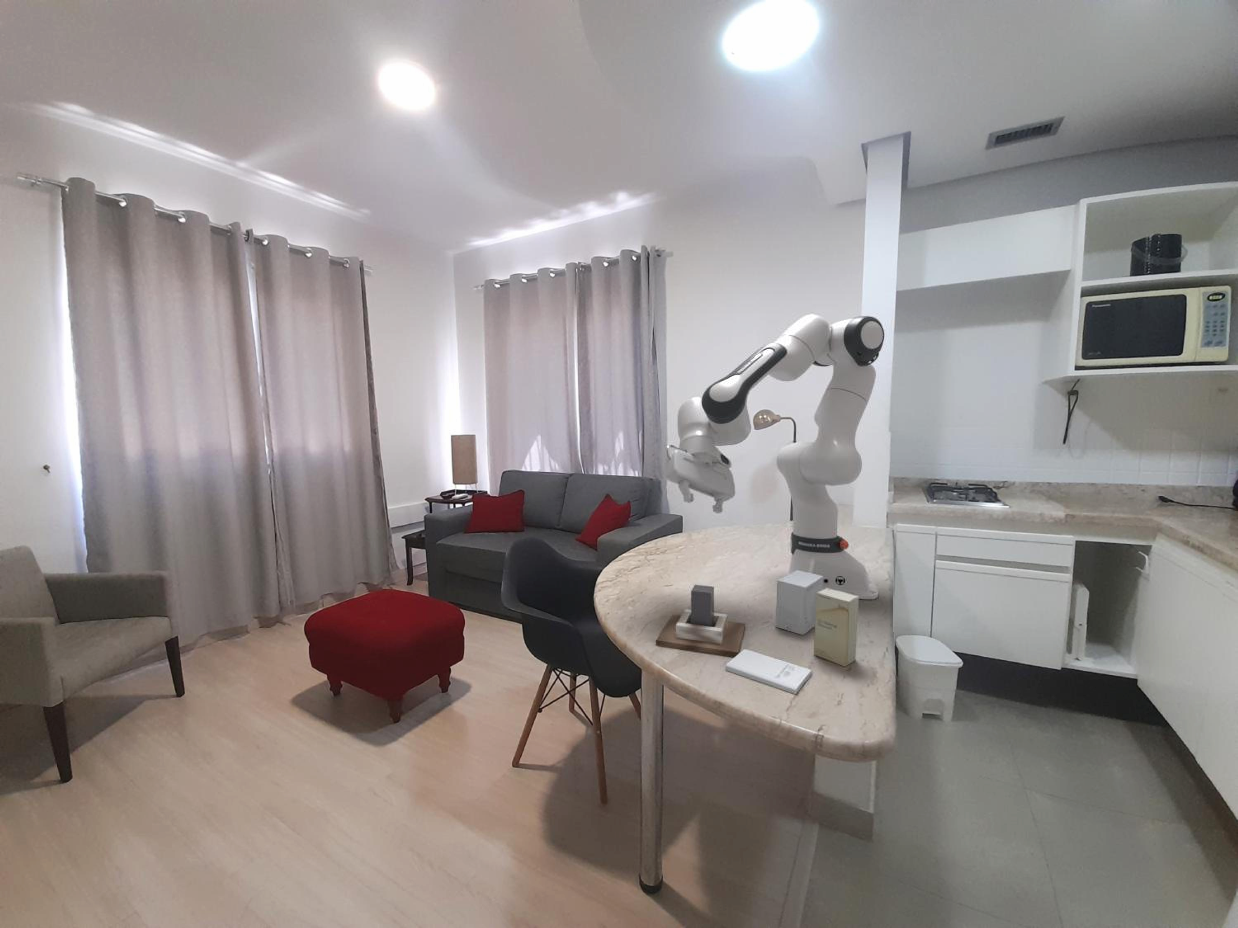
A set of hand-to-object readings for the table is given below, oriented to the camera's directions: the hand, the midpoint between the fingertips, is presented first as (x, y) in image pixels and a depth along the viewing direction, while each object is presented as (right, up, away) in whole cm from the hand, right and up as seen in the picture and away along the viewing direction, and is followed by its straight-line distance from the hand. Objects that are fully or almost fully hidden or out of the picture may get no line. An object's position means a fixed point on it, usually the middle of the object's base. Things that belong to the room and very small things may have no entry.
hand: (703, 506), depth 109 cm
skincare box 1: (+20, -25, -6) cm, 33 cm away
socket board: (-2, -26, -11) cm, 28 cm away
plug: (-2, -25, -11) cm, 27 cm away
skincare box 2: (+21, -26, -21) cm, 40 cm away
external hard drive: (+7, -28, -26) cm, 38 cm away
